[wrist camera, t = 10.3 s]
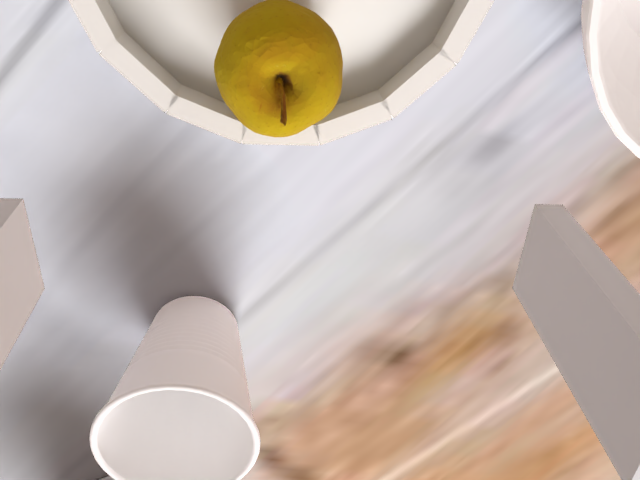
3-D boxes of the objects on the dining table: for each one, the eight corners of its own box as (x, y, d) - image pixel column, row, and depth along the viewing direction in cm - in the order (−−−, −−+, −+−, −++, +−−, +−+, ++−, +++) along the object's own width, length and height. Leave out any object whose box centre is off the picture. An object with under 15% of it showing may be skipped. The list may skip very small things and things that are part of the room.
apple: (278, 126, 35) (279, 187, 29) (196, 45, 33) (176, 92, 26) (360, 51, 33) (382, 98, 27) (281, -41, 31) (282, -15, 24)
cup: (149, 253, 41) (111, 366, 32) (283, 294, 44) (285, 411, 34) (113, 354, 46) (71, 480, 36) (237, 386, 48) (228, 511, 39)
